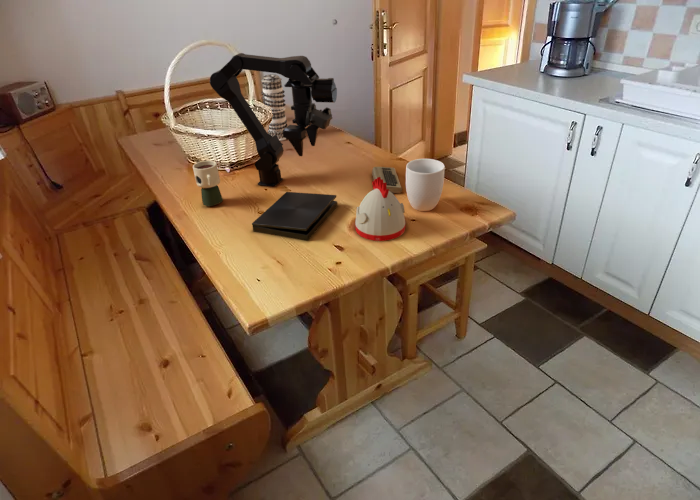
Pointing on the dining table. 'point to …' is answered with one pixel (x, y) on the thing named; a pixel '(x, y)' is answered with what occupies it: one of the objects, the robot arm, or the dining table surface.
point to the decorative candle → (275, 104)
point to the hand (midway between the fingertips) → (307, 150)
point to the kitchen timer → (380, 214)
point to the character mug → (208, 182)
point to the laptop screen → (295, 211)
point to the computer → (388, 178)
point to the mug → (424, 183)
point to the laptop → (298, 233)
